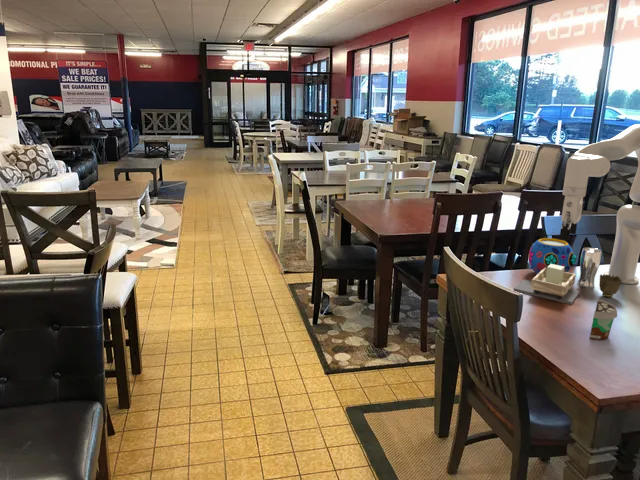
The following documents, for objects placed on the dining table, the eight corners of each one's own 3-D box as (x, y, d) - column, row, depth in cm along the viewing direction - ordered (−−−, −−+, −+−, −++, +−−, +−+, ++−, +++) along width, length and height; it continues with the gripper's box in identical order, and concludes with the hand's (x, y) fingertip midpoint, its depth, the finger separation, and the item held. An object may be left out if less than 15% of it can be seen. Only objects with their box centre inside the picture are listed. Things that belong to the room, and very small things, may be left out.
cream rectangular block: (548, 280, 198) (550, 263, 196) (561, 283, 195) (564, 266, 193) (544, 284, 194) (547, 266, 192) (558, 287, 191) (561, 269, 189)
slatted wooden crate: (542, 281, 205) (544, 267, 204) (573, 288, 199) (575, 274, 197) (529, 293, 192) (531, 279, 190) (562, 301, 185) (565, 286, 184)
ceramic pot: (540, 283, 206) (546, 248, 202) (517, 269, 223) (522, 236, 218) (580, 282, 209) (586, 247, 204) (554, 268, 225) (559, 235, 221)
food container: (611, 346, 155) (617, 316, 153) (588, 341, 158) (594, 311, 156) (613, 331, 165) (619, 303, 163) (592, 326, 169) (597, 298, 166)
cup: (621, 301, 190) (625, 281, 188) (599, 299, 191) (603, 279, 189) (614, 294, 197) (618, 274, 195) (593, 292, 198) (597, 273, 196)
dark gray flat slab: (523, 281, 208) (523, 279, 208) (579, 294, 196) (579, 291, 196) (513, 290, 198) (513, 288, 198) (571, 304, 186) (571, 302, 186)
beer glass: (594, 284, 207) (601, 249, 203) (595, 289, 201) (602, 253, 197) (576, 281, 210) (582, 246, 206) (576, 286, 204) (582, 251, 200)
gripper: (580, 196, 176) (572, 243, 181) (590, 188, 189) (583, 233, 194) (557, 193, 180) (550, 239, 185) (569, 186, 193) (562, 229, 198)
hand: (567, 236), depth 189 cm, fingers open, 9 cm apart
